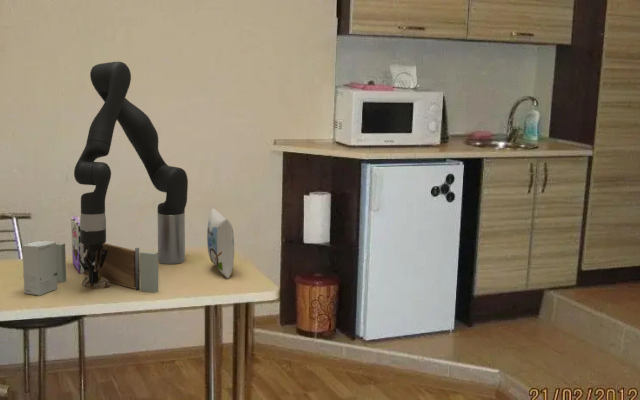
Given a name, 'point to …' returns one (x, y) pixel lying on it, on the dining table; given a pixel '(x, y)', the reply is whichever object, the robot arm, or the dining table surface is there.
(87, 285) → the mineral rock
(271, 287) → the dining table surface
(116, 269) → the door
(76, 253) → the candy box
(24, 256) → the skincare box
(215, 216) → the pouch
